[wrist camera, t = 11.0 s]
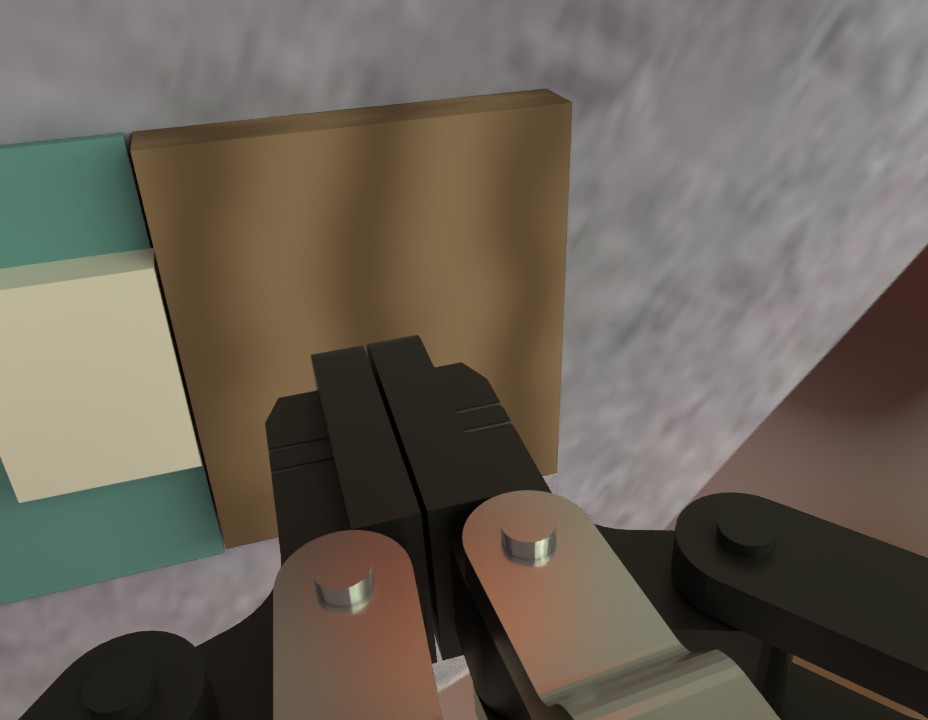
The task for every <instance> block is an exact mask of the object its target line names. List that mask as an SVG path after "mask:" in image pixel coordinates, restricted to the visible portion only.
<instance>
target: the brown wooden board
mask: <svg viewBox="0 0 928 720" xmlns="http://www.w3.org/2000/svg"><path fill="white" fill-rule="evenodd" d="M571 120H572V102H570V101H568V100H567V99H565V98H563V97H561V96H559V95H557V94H556V93H554V92H552V91H550V90H548V89H539V90H529V91H520V92H510V93H500V94H491V95H481V96H472V97H462V98H452V99H443V100H433V101H424V102H414V103H404V104H395V105H385V106H375V107H366V108H356V109H347V110H337V111H327V112H318V113H308V114H299V115H289V116H279V117H270V118H260V119H250V120H241V121H231V122H222V123H212V124H202V125H193V126H183V127H174V128H164V129H154V130H145V131H135V132H132V141H131V149H130V152H131V156H132V160H133V164H134V168H135V172H136V177H137V181H138V185H139V189H140V193H141V197H142V201H143V206H144V210H145V214H146V218H147V222H148V226H149V230H150V235H151V239H152V243H153V247H154V251H155V255H156V259H157V264H158V268H159V272H160V276H161V280H162V284H163V288H164V293H165V297H166V301H167V305H168V309H169V313H170V318H171V322H172V326H173V330H174V334H175V338H176V342H177V347H178V351H179V355H180V359H181V363H182V367H183V371H184V376H185V380H186V384H187V388H188V392H189V396H190V400H191V405H192V409H193V413H194V417H195V421H196V425H197V429H198V434H199V438H200V442H201V446H202V450H203V454H204V459H205V463H206V467H207V471H208V475H209V479H210V483H211V488H212V492H213V496H214V500H215V504H216V508H217V512H218V517H219V521H220V525H221V529H222V533H223V537H224V541H225V546H226V549H228V548H233V547H237V546H241V545H246V544H250V543H254V542H259V541H263V540H267V539H272V538H276V537H279V535H278V527H277V519H276V510H275V502H274V494H273V485H272V477H271V476H272V475H271V469H270V461H269V451H268V444H267V436H266V427H265V422H266V420H267V418H268V417H269V415H270V413H271V411H272V409H273V407H274V405H275V403H276V401H277V399H278V398H280V397H285V396H291V395H296V394H301V393H306V392H311V391H316V385H315V380H314V374H313V368H312V362H311V355H312V354H317V353H323V352H328V351H333V350H339V349H344V348H350V347H355V346H361V345H363V347H364V349H365V352H366V345H367V344H370V343H376V342H381V341H387V340H392V339H398V338H403V337H408V336H414V335H419V337H420V338H421V340H422V342H423V344H424V347H425V349H426V351H427V353H428V355H429V357H430V359H431V361H432V364H433V366H434V367H439V366H445V365H450V364H455V363H460V362H462V363H464V364H465V365H467V366H468V367H470V368H471V369H473V370H475V371H476V372H478V373H479V374H481V375H482V376H484V377H485V378H487V379H488V381H489V383H490V385H491V386H492V388H493V390H494V392H495V393H496V395H497V397H498V399H499V401H500V405H501V406H503V408H504V409H505V411H506V413H507V415H508V417H509V418H510V422H511V425H514V427H515V429H516V431H517V432H518V434H519V436H520V438H521V440H522V441H523V443H524V445H525V447H526V448H527V450H528V452H529V454H530V455H531V457H532V459H533V461H534V463H535V464H536V466H537V468H538V470H539V471H540V473H541V475H542V476H545V475H549V474H554V473H557V461H558V437H559V412H560V388H561V364H562V339H563V315H564V290H565V266H566V242H567V217H568V193H569V168H570V144H571ZM366 355H367V353H366Z"/></svg>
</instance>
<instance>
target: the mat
mask: <svg viewBox="0 0 928 720" xmlns="http://www.w3.org/2000/svg"><path fill="white" fill-rule="evenodd" d="M148 248H152V247H151V243H150V239H149V235H148V231H147V227H146V222H145V218H144V214H143V210H142V206H141V202H140V198H139V194H138V189H137V185H136V181H135V177H134V173H133V169H132V165H131V161H130V156H129V152H128V148H127V144H126V140H125V136H124V133H116V134H106V135H97V136H87V137H77V138H68V139H58V140H49V141H39V142H29V143H20V144H10V145H0V269H2V268H10V267H17V266H24V265H31V264H39V263H46V262H53V261H60V260H68V259H75V258H82V257H90V256H97V255H104V254H111V253H119V252H126V251H133V250H140V249H148ZM201 460H202V466H199V467H194V468H189V469H184V470H179V471H174V472H170V473H165V474H160V475H155V476H150V477H145V478H140V479H135V480H130V481H125V482H120V483H116V484H111V485H106V486H101V487H96V488H91V489H86V490H81V491H76V492H71V493H67V494H62V495H57V496H52V497H47V498H42V499H37V500H32V501H27V502H22V503H19V502H18V499H17V497H16V494H15V492H14V489H13V487H12V484H11V482H10V479H9V477H8V474H7V472H6V470H5V467H4V465H3V462H2V460H1V457H0V605H2V604H7V603H11V602H15V601H20V600H24V599H28V598H33V597H37V596H41V595H46V594H50V593H54V592H58V591H63V590H67V589H71V588H76V587H80V586H84V585H89V584H93V583H97V582H102V581H106V580H110V579H115V578H119V577H123V576H128V575H132V574H136V573H140V572H145V571H149V570H153V569H158V568H162V567H166V566H171V565H175V564H179V563H184V562H188V561H192V560H197V559H201V558H205V557H210V556H214V555H218V554H223V553H225V552H224V544H223V540H222V536H221V532H220V528H219V523H218V519H217V515H216V511H215V507H214V503H213V499H212V495H211V490H210V486H209V482H208V478H207V474H206V470H205V466H204V462H203V457H202V453H201Z"/></svg>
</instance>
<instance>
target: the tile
mask: <svg viewBox="0 0 928 720" xmlns="http://www.w3.org/2000/svg"><path fill="white" fill-rule="evenodd" d="M0 457H1V460H2V462H3V465H4V467H5V470H6V472H7V474H8V477H9V479H10V482H11V484H12V487H13V489H14V492H15V494H16V497H17V499H18V502H19V503H22V502H27V501H32V500H37V499H42V498H47V497H52V496H57V495H62V494H67V493H71V492H76V491H81V490H86V489H91V488H96V487H101V486H106V485H111V484H116V483H120V482H125V481H130V480H135V479H140V478H145V477H150V476H155V475H160V474H165V473H170V472H174V471H179V470H184V469H189V468H194V467H199V466H202V460H201V445H200V438H199V434H198V429H197V425H196V421H195V417H194V413H193V409H192V405H191V400H190V396H189V392H188V388H187V384H186V380H185V376H184V371H183V367H182V363H181V359H180V355H179V351H178V347H177V342H176V338H175V334H174V330H173V326H172V322H171V318H170V313H169V309H168V305H167V301H166V297H165V293H164V288H163V284H162V280H161V276H160V272H159V268H158V264H157V259H156V255H155V251H154V248H148V249H140V250H133V251H126V252H119V253H111V254H104V255H97V256H90V257H82V258H75V259H68V260H60V261H53V262H46V263H39V264H31V265H24V266H17V267H10V268H2V269H0Z"/></svg>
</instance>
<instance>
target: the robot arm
mask: <svg viewBox="0 0 928 720" xmlns="http://www.w3.org/2000/svg"><path fill="white" fill-rule="evenodd" d="M366 353H367V355H366ZM311 362H312V368H313V374H314V380H315V385H316V391H311V392H306V393H301V394H296V395H291V396H285V397H280V398H278V399H277V401H276V403H275V405H274V407H273V409H272V411H271V413H270V415H269V417H268V418H267V420H266V422H265V427H266V436H267V444H268V451H269V461H270V469H271V475H272V476H271V477H272V485H273V494H274V502H275V510H276V519H277V527H278V535H279V544H280V552H281V569H280V570H279V572H278V574H277V577H276V580H275V583H274V588H273V590H272V591H271V593H270V595H269V596H268V597H267V598H266V600H265V601H264V602H263V603H262V605H261V606H260V607H258V608H257V609H256V610H255V611H254V612H253V613H252V614H251V615H250V616H248V617H247V618H246V619H244V620H243V621H242V622H240V623H239V624H237V625H235V626H233V627H232V628H230V629H228V630H227V631H225V632H223V633H221V634H219V635H217V636H215V637H213V638H211V639H210V640H208V641H206V642H204V643H202V644H200V645H198V646H196V647H194V645H193V644H191V643H190V642H189V641H187V640H186V639H185V638H182V637H180V636H178V635H176V634H172V633H168V632H164V631H141V632H135V633H130V634H126V635H123V636H120V637H117V638H114V639H111V640H109V641H107V642H105V643H102V644H100V645H98V646H97V647H95V648H93V649H92V650H90V651H88V652H87V653H85V654H84V655H83V656H81V657H80V658H79V659H77V660H76V661H75V662H74V663H73V664H71V665H70V666H69V667H68V668H67V669H66V670H65V671H64V672H63V673H62V674H61V675H60V676H59V677H58V678H57V679H56V680H55V681H54V683H53V684H52V685H51V686H50V687H49V688H48V689H47V690H46V691H45V692H44V693H43V694H42V695H41V696H40V697H39V698H38V699H37V700H36V702H35V703H34V704H33V705H32V706H31V707H30V708H29V709H28V710H27V711H26V712H25V713H24V714H23V715H22V716H21V717H20V718H19V720H443V717H442V712H441V707H440V702H439V697H438V692H437V687H436V682H435V677H434V672H433V667H432V664H433V663H437V656H436V646H435V637H436V640H437V644H438V647H439V650H440V653H441V657H442V660H446V659H450V658H454V657H458V656H461V655H464V656H465V659H466V662H467V665H468V668H469V671H470V674H471V677H472V680H473V691H474V704H475V712H476V715H477V718H478V720H919V719H915V718H911V717H909V716H907V715H904V714H902V713H900V712H898V711H896V710H894V709H891V708H889V707H887V706H884V705H882V704H881V703H878V702H876V701H874V700H872V699H870V698H868V697H866V696H863V695H861V694H859V693H857V692H855V691H853V690H851V689H848V688H846V687H844V686H842V685H840V684H837V683H836V682H833V681H831V680H829V679H827V678H825V677H822V676H820V675H818V674H816V673H814V672H812V671H810V670H808V669H806V668H803V667H801V666H799V665H797V664H794V663H793V662H792V660H793V656H794V655H795V656H797V657H799V658H801V659H804V660H806V661H808V662H810V663H812V664H814V665H816V666H819V667H821V668H823V669H825V670H827V671H830V672H832V673H834V674H836V675H838V676H840V677H843V678H845V679H847V680H849V681H851V682H854V683H856V684H858V685H860V686H862V687H864V688H866V689H869V690H871V691H873V692H875V693H877V694H880V695H882V696H884V697H886V698H888V699H890V700H893V701H895V702H897V703H899V704H901V705H904V706H906V707H908V708H910V709H912V710H914V711H916V712H918V713H920V714H922V715H924V716H925V717H927V718H928V558H926V557H924V556H920V555H918V554H915V553H913V552H910V551H907V550H904V549H902V548H899V547H896V546H894V545H891V544H888V543H886V542H883V541H880V540H877V539H875V538H872V537H869V536H866V535H864V534H861V533H858V532H856V531H853V530H850V529H848V528H845V527H842V526H839V525H837V524H834V523H831V522H828V521H826V520H823V519H820V518H818V517H815V516H812V515H809V514H807V513H804V512H801V511H799V510H796V509H793V508H791V507H788V506H785V505H782V504H780V503H777V502H774V501H771V500H769V499H766V498H762V497H759V496H755V495H750V494H745V493H718V494H712V495H708V496H705V497H702V498H700V499H697V500H695V501H693V502H692V503H691V504H689V505H688V506H686V508H685V509H684V510H683V511H682V512H681V513H680V515H679V517H678V519H677V523H676V527H675V531H666V530H623V529H613V528H608V527H603V526H599V525H596V524H593V522H592V521H591V520H590V518H589V517H588V516H587V514H586V513H585V512H584V511H583V510H582V509H581V508H580V507H578V506H577V505H576V504H575V503H573V502H571V501H569V500H568V499H566V498H563V497H561V496H558V495H556V494H552V493H551V491H550V489H549V487H548V486H547V484H546V482H545V480H544V478H543V477H542V475H541V473H540V471H539V470H538V468H537V466H536V464H535V463H534V461H533V459H532V457H531V455H530V454H529V452H528V450H527V448H526V447H525V445H524V443H523V441H522V440H521V438H520V436H519V434H518V432H517V431H516V429H515V427H514V425H511V422H510V418H509V417H508V415H507V413H506V411H505V409H504V408H503V406H501V405H500V401H499V399H498V397H497V395H496V393H495V392H494V390H493V388H492V386H491V385H490V383H489V381H488V379H487V378H485V377H484V376H482V375H481V374H479V373H478V372H476V371H475V370H473V369H471V368H470V367H468V366H467V365H465V364H464V363H462V362H460V363H455V364H450V365H445V366H439V367H434V366H433V364H432V361H431V359H430V357H429V355H428V353H427V351H426V349H425V347H424V344H423V342H422V340H421V338H420V337H419V335H414V336H408V337H403V338H398V339H392V340H387V341H381V342H376V343H370V344H367V345H366V352H365V349H364V347H363V345H361V346H355V347H350V348H344V349H339V350H333V351H328V352H323V353H317V354H312V355H311ZM434 634H435V637H434Z"/></svg>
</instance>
